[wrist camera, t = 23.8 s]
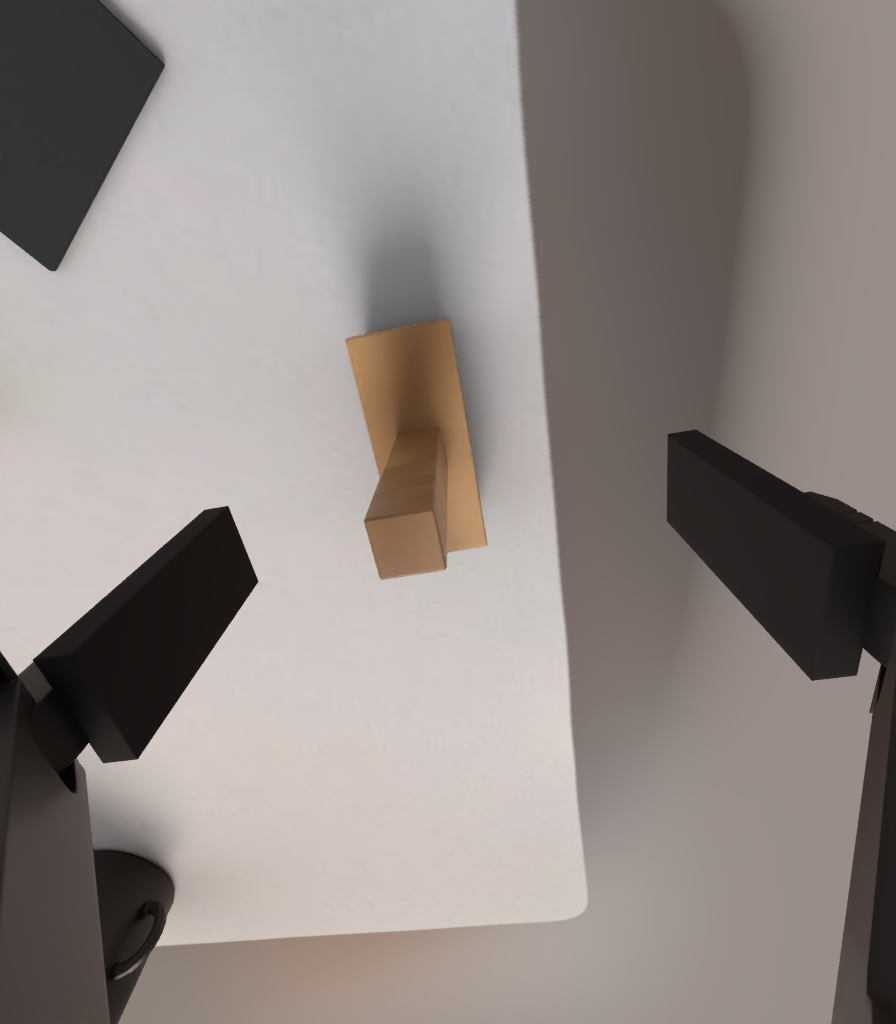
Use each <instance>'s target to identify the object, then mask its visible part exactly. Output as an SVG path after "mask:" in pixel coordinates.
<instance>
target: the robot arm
mask: <svg viewBox="0 0 896 1024" xmlns="http://www.w3.org/2000/svg"><path fill="white" fill-rule="evenodd" d="M667 464H668V465H667V466H668V467H667V522H668V523H669V524H670V525H671V526H672V527H673V528H674V529H675V530H676V532H677V533H679V535H680V536H681V537H682V538H683V539H684V540H685V541H686V543H687V544H688V545H689V546H690V547H691V548H692V549H693V550H694V551H695V552H696V554H697V555H698V556H699V557H700V558H701V559H702V560H703V561H704V562H705V564H707V566H708V567H709V568H710V569H711V570H712V571H713V572H714V573H715V575H716V576H717V577H718V578H719V579H720V580H721V581H722V582H723V583H724V584H725V586H726V587H727V588H728V589H729V590H730V591H731V592H732V593H733V594H734V595H735V597H736V598H737V599H738V600H739V601H740V602H741V603H742V604H743V605H744V606H745V608H746V609H747V610H748V611H749V612H750V613H751V614H752V615H753V616H754V618H755V619H756V620H757V621H758V622H759V623H760V624H761V625H762V626H763V627H764V629H765V630H766V631H767V632H768V633H769V634H770V635H771V636H772V637H773V638H774V639H775V641H776V642H777V643H778V644H779V645H780V646H781V647H782V648H783V649H784V650H785V652H786V653H787V654H788V655H789V656H790V657H791V658H792V659H793V660H794V662H795V663H796V664H797V665H798V666H799V667H800V668H801V669H802V670H803V671H804V672H805V674H806V675H807V676H808V677H809V678H810V679H811V680H812V681H813V680H821V679H830V678H839V677H847V676H855V675H857V672H858V667H859V663H860V658H861V654H862V649H863V648H864V649H865V650H866V651H867V652H868V653H869V654H871V655H872V656H873V657H874V658H875V659H876V660H877V661H878V662H880V663H881V667H880V671H879V675H878V679H877V683H876V687H875V691H874V695H873V699H872V703H871V708H870V713H873V716H872V723H871V730H870V738H869V746H868V753H867V760H866V768H865V776H864V783H863V791H862V798H861V806H860V813H859V820H858V828H857V836H856V843H855V851H854V858H853V865H852V873H851V880H850V888H849V895H848V903H847V910H846V918H845V925H844V933H843V940H842V948H841V955H840V963H839V970H838V978H837V985H836V993H835V1001H834V1007H833V1016H832V1024H896V531H894V530H892V529H890V528H889V527H887V526H885V525H883V524H881V523H879V522H878V521H876V522H874V521H873V519H872V518H870V517H869V516H867V515H865V514H863V513H861V512H858V513H857V510H856V509H854V508H852V507H850V506H849V505H847V504H845V503H843V502H841V501H839V500H838V499H834V498H831V497H828V496H824V495H821V494H817V493H814V492H805V493H803V492H801V491H800V490H798V489H796V488H795V487H793V486H791V485H789V484H788V483H786V482H784V481H782V480H781V479H779V478H777V477H776V476H774V475H772V474H771V473H769V472H767V471H766V470H764V469H762V468H760V467H759V466H757V465H755V464H754V463H752V462H750V461H748V460H747V459H745V458H743V457H741V456H740V455H738V454H737V453H734V452H733V451H731V450H730V449H728V448H726V447H725V446H723V445H721V444H719V443H718V442H716V441H714V440H713V439H711V438H709V437H707V436H706V435H704V434H702V433H700V432H699V431H697V430H691V431H684V432H678V433H672V434H668V462H667ZM257 583H258V579H257V577H256V574H255V572H254V569H253V567H252V564H251V562H250V559H249V557H248V554H247V552H246V549H245V547H244V544H243V542H242V539H241V537H240V534H239V532H238V529H237V527H236V524H235V522H234V519H233V517H232V514H231V512H230V509H229V507H228V506H226V507H219V508H213V509H207V510H204V511H203V512H202V513H201V514H199V515H198V516H197V517H196V518H195V519H194V520H192V521H191V522H190V523H189V524H188V525H187V526H186V527H184V528H183V529H182V530H181V531H180V532H179V533H178V534H176V535H175V536H174V537H173V538H172V539H171V540H170V541H168V542H167V543H166V544H165V545H164V546H163V547H162V548H160V549H159V550H158V551H157V552H156V553H155V554H154V555H152V556H151V557H150V558H149V559H148V560H147V561H146V562H144V563H143V564H142V565H141V566H140V567H139V568H138V569H136V570H135V571H134V572H133V573H132V574H131V575H130V576H128V577H127V578H126V579H125V580H124V581H123V582H122V583H120V584H119V585H118V586H117V587H116V588H115V589H113V590H112V591H111V592H110V593H109V594H108V595H107V596H105V597H104V598H103V599H102V600H101V601H100V602H99V603H97V604H96V605H95V606H94V607H93V608H92V609H91V610H89V611H88V612H87V613H86V614H85V615H84V616H83V617H81V618H80V619H79V620H78V621H77V622H76V623H75V624H73V625H72V626H71V627H70V628H69V629H68V630H67V631H65V632H64V633H63V634H62V635H61V636H60V637H59V638H57V639H56V640H55V641H54V642H53V643H52V644H51V645H49V646H48V647H47V648H46V649H45V650H44V651H42V652H41V653H40V654H39V655H38V656H37V657H36V658H34V659H33V661H34V662H33V663H32V664H31V665H29V666H28V667H27V668H26V669H25V670H24V671H23V672H21V673H20V674H19V675H18V676H17V674H16V673H15V671H14V670H13V668H12V667H11V666H10V664H9V663H8V661H7V660H6V659H5V657H4V656H3V654H2V653H1V652H0V1024H110V1017H109V1007H108V997H107V987H106V977H105V967H104V957H103V946H102V936H101V926H100V916H99V906H98V896H97V886H96V875H95V865H94V855H93V845H92V835H91V825H90V815H89V805H88V794H87V784H86V774H85V770H84V769H83V767H82V766H81V764H80V763H79V761H78V760H77V759H76V758H77V757H78V755H79V754H80V753H81V752H82V751H83V749H84V748H85V747H86V746H87V744H88V743H90V745H91V746H92V748H93V749H94V751H95V752H96V754H97V755H98V756H99V758H100V759H101V761H102V762H103V763H110V762H118V761H127V760H136V759H138V758H139V757H140V755H141V754H142V752H143V751H144V749H145V748H146V746H147V745H148V743H149V742H150V740H151V739H152V737H153V736H154V734H155V733H156V731H157V730H158V729H159V727H160V726H161V724H162V723H163V721H164V720H165V718H166V717H167V715H168V714H169V712H170V711H171V709H172V708H173V706H174V705H175V704H176V702H177V701H178V699H179V698H180V696H181V695H182V693H183V692H184V690H185V689H186V687H187V686H188V684H189V683H190V681H191V680H192V679H193V677H194V676H195V674H196V673H197V671H198V670H199V668H200V667H201V665H202V664H203V662H204V661H205V659H206V658H207V656H208V655H209V654H210V652H211V651H212V649H213V648H214V646H215V645H216V643H217V642H218V640H219V639H220V637H221V636H222V634H223V633H224V631H225V630H226V629H227V627H228V626H229V624H230V623H231V621H232V620H233V618H234V617H235V615H236V614H237V612H238V611H239V609H240V608H241V606H242V605H243V604H244V602H245V601H246V599H247V598H248V596H249V595H250V593H251V592H252V590H253V589H254V587H255V586H256V584H257Z"/></svg>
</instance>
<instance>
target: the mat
mask: <svg viewBox="0 0 896 1024" xmlns="http://www.w3.org/2000/svg"><path fill="white" fill-rule="evenodd" d="M164 67H165V65H164V64H163V63H162V62H161V61H160V60H159V59H158V58H157V57H156V56H155V55H154V54H153V53H152V52H151V51H150V50H149V49H148V48H147V47H146V46H145V45H144V44H143V43H142V42H141V41H140V40H139V39H138V38H137V37H136V36H135V35H134V34H133V33H132V32H131V31H129V30H128V29H127V28H126V27H125V26H124V25H123V24H122V23H121V22H120V21H119V20H118V19H117V18H116V17H115V16H114V15H113V14H112V13H111V12H110V11H109V10H108V9H107V8H106V7H105V6H104V5H103V4H102V3H101V2H100V1H99V0H0V232H1V233H3V234H4V235H5V236H7V237H8V238H9V239H10V240H12V241H13V242H14V243H15V244H17V245H18V246H19V247H20V248H22V249H23V250H24V251H26V252H27V253H28V254H29V255H31V256H32V257H33V258H34V259H36V260H37V261H38V262H39V263H41V264H42V265H43V266H45V267H46V268H47V269H48V270H50V271H56V270H57V268H58V266H59V264H60V263H61V261H62V259H63V257H64V255H65V253H66V251H67V249H68V247H69V246H70V244H71V242H72V240H73V238H74V236H75V234H76V232H77V231H78V229H79V227H80V225H81V223H82V221H83V219H84V217H85V215H86V214H87V212H88V210H89V208H90V206H91V204H92V202H93V200H94V198H95V197H96V195H97V193H98V191H99V189H100V187H101V185H102V183H103V182H104V180H105V178H106V176H107V174H108V172H109V170H110V168H111V166H112V165H113V163H114V161H115V159H116V157H117V155H118V153H119V151H120V149H121V148H122V146H123V144H124V142H125V140H126V138H127V136H128V134H129V133H130V131H131V129H132V127H133V125H134V123H135V121H136V119H137V117H138V116H139V114H140V112H141V110H142V108H143V106H144V104H145V102H146V101H147V99H148V97H149V95H150V93H151V91H152V89H153V87H154V85H155V84H156V82H157V80H158V78H159V76H160V74H161V72H162V70H163V68H164Z"/></svg>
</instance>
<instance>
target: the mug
mask: <svg viewBox="0 0 896 1024" xmlns="http://www.w3.org/2000/svg"><path fill="white" fill-rule="evenodd" d="M93 855H94V865H95V875H96V886H97V896H98V906H99V916H100V926H101V936H102V946H103V957H104V967H105V977H106V987H107V997H108V1007H109V1017H110V1024H118V1022H119V1020H120V1018H121V1015H122V1013H123V1011H124V1009H125V1007H126V1004H127V1002H128V1000H129V998H130V996H131V994H132V991H133V989H134V987H135V985H136V983H137V980H138V978H139V976H140V974H141V971H142V969H143V967H144V965H145V963H146V961H147V958H148V956H149V954H150V952H151V951H152V950H153V948H154V947H155V945H156V943H157V942H158V940H159V938H160V936H161V934H162V932H163V929H164V926H165V923H166V918H167V915H168V912H169V910H170V908H171V906H172V904H173V900H174V888H173V885H172V883H171V881H170V879H169V878H168V877H167V876H166V875H165V874H164V873H163V872H162V871H161V870H160V869H159V868H157V867H156V866H154V865H152V864H151V863H149V862H147V861H145V860H142V859H140V858H137V857H134V856H131V855H127V854H123V853H117V852H93Z"/></svg>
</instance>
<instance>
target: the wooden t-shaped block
mask: <svg viewBox="0 0 896 1024" xmlns="http://www.w3.org/2000/svg"><path fill="white" fill-rule="evenodd" d="M345 342H346V346H347V350H348V354H349V357H350V361H351V365H352V369H353V373H354V377H355V381H356V385H357V389H358V393H359V397H360V401H361V405H362V409H363V413H364V417H365V421H366V425H367V429H368V433H369V437H370V440H371V444H372V448H373V452H374V456H375V460H376V464H377V468H378V472H379V476H380V480H379V483H378V485H377V488H376V491H375V493H374V496H373V499H372V501H371V504H370V506H369V509H368V512H367V514H366V517H365V519H364V523H365V527H366V530H367V534H368V538H369V541H370V545H371V548H372V552H373V556H374V559H375V563H376V566H377V570H378V574H379V577H380V579H382V580H383V579H390V578H396V577H403V576H409V575H416V574H422V573H429V572H435V571H441V570H445V569H446V567H447V552H453V551H460V550H466V549H472V548H479V547H485V546H487V539H486V532H485V526H484V520H483V514H482V508H481V502H480V496H479V490H478V484H477V478H476V472H475V466H474V460H473V454H472V448H471V442H470V436H469V430H468V424H467V418H466V412H465V406H464V400H463V394H462V388H461V383H460V377H459V371H458V365H457V359H456V353H455V347H454V341H453V335H452V329H451V323H450V319H449V318H446V319H440V320H435V321H430V322H425V323H420V324H415V325H410V326H405V327H399V328H394V329H389V330H384V331H379V332H374V333H369V334H363V335H358V336H353V337H350V338H347V339H346V340H345Z"/></svg>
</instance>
